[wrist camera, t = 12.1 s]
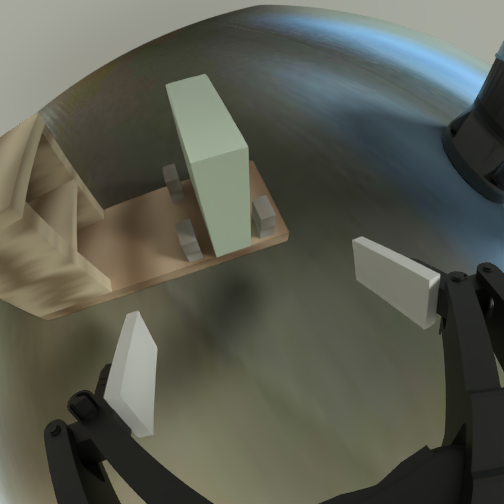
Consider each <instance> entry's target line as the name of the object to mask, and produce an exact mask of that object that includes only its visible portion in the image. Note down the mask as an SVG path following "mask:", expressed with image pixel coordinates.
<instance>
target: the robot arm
mask: <svg viewBox="0 0 504 504" xmlns="http://www.w3.org/2000/svg"><path fill="white" fill-rule="evenodd" d="M495 57H496V59H495V61H494V63H493V66H492V68H491V70H490V72H489V74H488V76H487V78H486V80H485V82H484V84H483V86H482V88H481V90H480V92H479V93H478V96H477V97H476V99H475V101H474V103H473V104H472V106H471V107H469V108H468V109H467V110H466V111H464V112H463V113H462V114H461V115H459V116H458V117H457V118H456V119H454V120H453V121H452V122H451V123H450V124H449V125H448V127H447V128H446V130H445V132H444V134H443V137H442V141H443V146H444V149H445V151H446V153H447V155H448V157H449V159H450V160H451V162H452V164H453V165H454V166H455V168H456V169H457V170H458V172H459V173H460V174H461V175H462V176H463V178H464V179H465V180H466V181H467V182H468V183H469V184H470V185H471V186H472V187H473V188H474V189H476V190H477V191H478V192H479V193H480V194H482V195H483V196H485V197H486V198H488V199H489V200H491V201H494V202H496V203H504V41H503V43H502V45H501V47H500V49H499V51H498V53H496V54H495ZM352 244H353V252H354V262H355V272H356V280H358V281H359V282H360V283H362V284H363V285H365V286H366V287H367V288H369V289H370V290H372V291H373V292H374V293H376V294H377V295H378V296H380V297H381V298H383V299H384V300H385V301H387V302H388V303H389V304H391V305H392V306H394V307H395V308H396V309H398V310H399V311H400V312H402V313H403V314H404V315H406V316H407V317H408V318H410V319H411V320H412V321H414V322H415V323H416V324H418V325H419V326H420V327H422V328H423V329H424V330H426V329H427V328H429V327H430V326H432V325H433V324H435V321H436V313H438V314H439V315H441V316H442V317H441V323H440V329H439V334H441V331H442V338H443V348H444V361H445V380H446V420H445V435H444V439H443V442H442V446H441V447H438V448H435V449H432V450H430V449H429V448H428V447H427V445H426V446H425V447H423V448H422V449H420V450H419V451H417V452H416V453H415V454H413V455H412V456H410V457H409V458H407V459H405V460H404V461H402V462H401V463H400V464H399V465H398V466H397V467H396V468H395V469H394V470H393V471H392V472H391V473H389V474H388V475H387V476H386V477H385V478H384V479H383V480H382V481H381V482H379V483H378V484H377V485H375V486H372V487H369V488H365V489H361V490H358V491H354V492H350V493H345V494H341V495H339V496H336V497H334V498H332V499H329V500H327V501H324V502H322V503H319V504H504V388H501V386H500V382H499V376H498V371H497V366H496V361H495V357H494V353H495V355H496V357H497V359H498V361H499V363H500V365H501V367H502V369H503V371H504V273H503V272H502V271H501V270H500V269H499V268H498V267H497V266H495V265H494V264H491V263H488V262H486V263H481V264H479V265H478V266H477V273H476V274H474V275H471V276H468V275H467V274H465V273H463V272H456V271H455V272H451V273H449V274H446V273H444V272H442V271H440V270H438V269H436V268H434V267H431V266H430V265H428V264H426V263H424V262H422V261H420V260H417V259H412V258H410V259H409V258H407V257H405V256H403V255H401V254H399V253H397V252H394V251H392V250H390V249H388V248H386V247H384V246H382V245H380V244H377V243H375V242H373V241H371V240H369V239H367V238H364V237H359V238H356V239H354V240H352ZM493 301H494V305H493ZM157 349H158V348H157V346H156V344H155V342H154V340H153V339H152V337H151V335H150V333H149V331H148V329H147V327H146V325H145V323H144V321H143V319H142V317H141V315H140V313H139V311H135V312H132V313H129V314H127V315H126V318H125V321H124V324H123V328H122V331H121V334H120V337H119V341H118V344H117V348H116V351H115V355H114V358H113V362H112V363H111V364H107V365H105V367H104V368H103V370H102V371H101V373H100V376H99V381H98V383H97V387H96V390H95V394H94V395H93V394H92V392H90V391H89V390H82V391H79V392H77V393H76V394H74V395H73V396H72V397H71V398H70V400H69V401H68V405H67V407H68V410H69V411H70V413H71V414H72V415H73V416H74V417H75V418H76V419H77V420H78V422H75V423H73V424H70V425H67V424H66V423H65V422H64V421H62V420H60V419H57V420H54V421H52V422H50V423H49V424H48V425H47V427H46V428H45V431H44V439H45V446H46V453H47V459H48V464H49V469H50V474H51V479H52V483H53V487H54V491H55V495H56V499H57V502H58V504H121V503H120V501H119V499H118V497H117V495H116V493H115V491H114V489H113V487H112V484H111V482H110V480H109V478H108V475H107V473H106V471H105V468H104V466H103V463H102V461H104V460H106V459H107V460H108V462H109V463H110V464H111V465H112V467H113V468H114V469H115V470H116V471H117V472H118V474H119V475H120V476H121V477H122V478H123V479H124V480H125V482H126V483H127V484H128V485H129V486H130V487H131V488H132V489H133V490H134V491H135V492H136V493H137V494H138V495H139V496H140V497H141V498H142V499H143V500H144V501H145V502H146V503H147V504H213V503H212V502H210V501H209V500H207V499H206V498H204V497H203V496H202V495H200V494H199V493H197V492H196V491H195V490H193V489H192V488H190V487H189V486H188V485H186V484H185V483H184V482H182V481H181V480H180V479H179V478H177V477H176V476H175V475H173V474H172V473H171V472H170V471H169V470H167V469H166V468H165V467H164V466H163V465H161V464H160V463H159V462H158V461H157V460H156V459H154V458H153V457H152V456H151V455H150V454H149V453H148V452H147V451H146V450H144V449H143V448H142V447H141V446H140V445H139V444H138V443H137V442H136V441H135V440H134V439H133V438H132V437H131V431H132V432H133V433H134V434H135V435H136V436H137V437H138V438H139V437H146V436H152V435H153V425H154V395H155V376H156V362H157ZM493 352H494V353H493Z"/></svg>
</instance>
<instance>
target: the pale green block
mask: <svg viewBox="0 0 504 504" xmlns="http://www.w3.org/2000/svg"><path fill="white" fill-rule="evenodd" d="M166 89H167V93H168V97H169V101H170V105H171V109H172V113H173V117H174V121H175V124H176V128H177V132H178V136H179V140H180V143H181V147H182V151H183V154H184V158H185V162H186V165H187V169H188V172H189V176H190V179H191V182H192V186H193V189H194V192H195V195H196V198H197V201H198V204H199V207H200V210H201V213H202V216H203V219H204V222H205V225H206V228H207V231H208V234H209V237H210V240H211V243H212V246H213V248H214V251H215V254H216V257H219V256H222V255H225V254H228V253H231V252H234V251H237V250H240V249H243V248H246V247H249V246H251V222H250V187H249V152H248V145H247V144H246V142H245V140H244V138H243V136H242V135H241V133H240V131H239V129H238V128H237V126H236V124H235V122H234V121H233V119H232V117H231V115H230V114H229V112H228V110H227V109H226V107H225V105H224V103H223V102H222V100H221V98H220V97H219V95H218V93H217V92H216V90H215V88H214V87H213V85H212V83H211V82H210V80H209V78H208V77H207V75H206V74H203V75H199V76H195V77H191V78H187V79H184V80H180V81H177V82H173V83H170V84H166Z"/></svg>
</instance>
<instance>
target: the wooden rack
mask: <svg viewBox="0 0 504 504" xmlns="http://www.w3.org/2000/svg"><path fill="white" fill-rule="evenodd" d="M162 170H163V175H164V179H165V183H166V187H163V188H160V189H157V190H155V191H152V192H149V193H146V194H144V195H141V196H138V197H135V198H133V199H130V200H128V201H125V202H122V203H120V204H117V205H115V206H112V207H110V208H107V209H105V210H103V209H102V208H101V206H100V205H99V203H98V202H97V201H96V199H95V198H94V197H93V195H92V194H91V192H90V191H89V190H88V188H87V187H86V185H85V184H84V183H83V181H82V180H81V178H80V177H79V175H78V174H77V172H76V171H75V170H74V168H73V167H72V165H71V164H70V162H69V161H68V159H67V158H66V156H65V154H64V153H63V151H62V150H61V148H60V147H59V145H58V144H57V142H56V140H55V139H54V137H53V135H52V134H51V132H50V131H49V129H48V127H47V126H46V124H45V122H44V121H43V119H42V117H41V115H40V114H39V112H38V113H36V114H34V115H33V116H31V117H30V118H28V119H26V120H25V121H23V122H22V123H20V124H19V125H17V126H16V127H14V128H13V129H12V130H10V131H8V132H7V133H6V134H4V135H3V136H1V137H0V299H2V300H4V301H6V302H8V303H10V304H12V305H14V306H16V307H18V308H20V309H22V310H24V311H26V312H29V313H31V314H33V315H35V316H38V317H40V318H42V319H44V320H47V321H50V320H53V319H56V318H59V317H61V316H64V315H67V314H70V313H73V312H76V311H79V310H82V309H85V308H88V307H91V306H94V305H97V304H100V303H103V302H106V301H109V300H112V299H115V298H118V297H121V296H124V295H127V294H130V293H133V292H136V291H139V290H142V289H145V288H148V287H151V286H154V285H157V284H160V283H163V282H166V281H169V280H172V279H175V278H178V277H181V276H184V275H187V274H190V273H193V272H196V271H199V270H202V269H205V268H208V267H211V266H214V265H217V264H220V263H223V262H226V261H229V260H232V259H235V258H238V257H241V256H244V255H247V254H250V253H253V252H256V251H259V250H261V249H264V248H267V247H270V246H273V245H276V244H279V243H282V242H285V241H287V240H288V236H289V231H288V229H287V227H286V225H285V223H284V221H283V219H282V217H281V215H280V213H279V211H278V209H277V207H276V205H275V203H274V201H273V199H272V197H271V195H270V193H269V191H268V189H267V187H266V185H265V183H264V181H263V179H262V177H261V176H260V174H259V172H258V170H257V168H256V166H255V164H254V162H253V160H252V161H249V187H250V222H251V246H249V247H246V248H243V249H240V250H237V251H234V252H231V253H228V254H225V255H222V256H219V257H216V254H215V251H214V248H213V246H212V243H211V240H210V237H209V234H208V231H207V228H206V225H205V222H204V219H203V216H202V213H201V210H200V207H199V204H198V201H197V198H196V195H195V192H194V189H193V186H192V182H191V179H187V180H184V181H180V178H179V175H178V172H177V169H176V166H175V163H173V164H170V165H167V166H164V167H162Z"/></svg>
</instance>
